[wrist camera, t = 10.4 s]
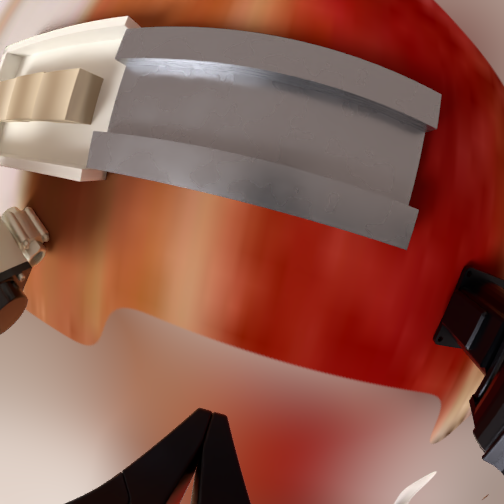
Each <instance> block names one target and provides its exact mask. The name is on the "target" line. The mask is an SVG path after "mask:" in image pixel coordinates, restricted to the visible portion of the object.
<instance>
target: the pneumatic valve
mask: <svg viewBox="0 0 504 504" xmlns="http://www.w3.org/2000/svg"><path fill="white" fill-rule="evenodd" d="M48 235H49V233H48V231H47V230H46V228H45V227H44V225H43V224H42V223H41V221H40V220H39V218H38V217H37V215H36V214H35V212H34V211H33V209H32V208H31V207H26V208H25V209H24V210H22V211H20V210H19V209H18V208H17V207H11V208H9V209H8V210H6V211H5V212H4V213H3V215H2V217H0V334H2V333H4V332H5V331H6V330H8V329H9V328H10V327H11V326H12V325H13V324H14V323H15V322H16V321H17V320H18V319H19V317H20V316H21V315H22V313H23V312H24V310H25V308H26V306H27V303H28V299H27V297H26V295H25V294H24V293H23V289H24V286H25V284H26V281H27V279H28V276H29V274H30V272H31V269H32V267H34V266H35V265H37V264H38V263H39V262H40V261H41V260H42V259H43V258H44V256H45V254H46V248H45V247H44V246H43V242H48V241H49V236H48Z"/></svg>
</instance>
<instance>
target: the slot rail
mask: <svg viewBox="0 0 504 504" xmlns="http://www.w3.org/2000/svg"><path fill="white" fill-rule="evenodd" d="M115 60H117V61H119V62H120V63H122V64H124V65H125V66H126V68H125V71H124V74H123V77H122V80H121V83H120V87H119V90H118V93H117V97H116V100H115V103H114V107H113V111H112V115H111V118H110V122H109V126H108V131H107V132H100V131H93V135H92V140H91V144H90V149H89V154H88V160H87V165H86V168H91V169H96V170H102V171H107V172H112V173H117V174H123V175H128V176H132V177H137V178H142V179H147V180H152V181H156V182H161V183H166V184H170V185H175V186H179V187H183V188H188V189H192V190H196V191H201V192H205V193H209V194H213V195H217V196H222V197H226V198H230V199H234V200H238V201H242V202H245V203H249V204H253V205H257V206H261V207H265V208H268V209H272V210H276V211H280V212H283V213H287V214H290V215H294V216H298V217H301V218H305V219H308V220H312V221H315V222H319V223H322V224H326V225H329V226H332V227H336V228H339V229H342V230H346V231H349V232H352V233H356V234H359V235H362V236H365V237H368V238H372V239H375V240H378V241H381V242H384V243H387V244H390V245H393V246H396V247H399V248H402V249H405V250H407V247H408V244H409V241H410V238H411V235H412V232H413V229H414V225H415V222H416V219H417V215H418V212H419V210H418V209H416V208H413V207H410V206H408V205H409V201H410V198H411V194H412V190H413V186H414V182H415V178H416V174H417V170H418V165H419V161H420V156H421V151H422V146H423V141H424V136H425V132H428V131H432V130H435V129H437V125H438V119H439V112H440V104H441V95H442V94H440V93H438V92H436V91H434V90H432V89H430V88H428V87H426V86H424V85H422V84H420V83H418V82H416V81H414V80H412V79H410V78H408V77H405V76H403V75H401V74H399V73H396V72H394V71H392V70H389V69H387V68H384V67H382V66H379V65H377V64H374V63H371V62H369V61H366V60H363V59H360V58H357V57H354V56H352V55H348V54H345V53H342V52H339V51H336V50H332V49H329V48H325V47H322V46H318V45H314V44H310V43H306V42H302V41H298V40H293V39H288V38H283V37H278V36H273V35H267V34H261V33H254V32H247V31H239V30H230V29H219V28H205V27H144V28H130V29H126V31H125V34H124V36H123V38H122V41H121V43H120V46H119V49H118V51H117V54H116V57H115Z"/></svg>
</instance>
